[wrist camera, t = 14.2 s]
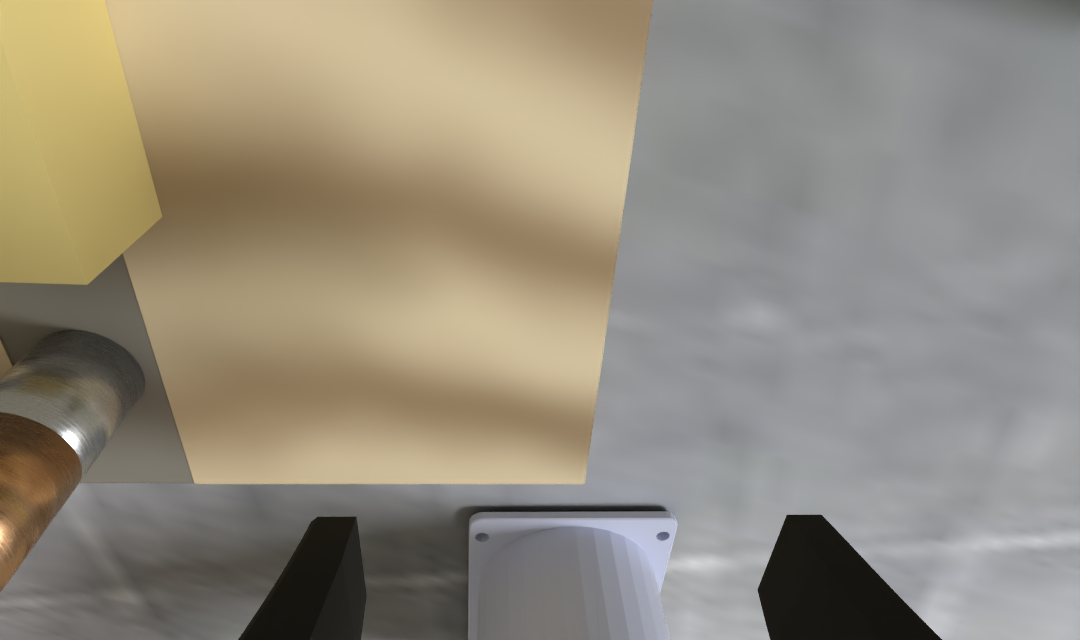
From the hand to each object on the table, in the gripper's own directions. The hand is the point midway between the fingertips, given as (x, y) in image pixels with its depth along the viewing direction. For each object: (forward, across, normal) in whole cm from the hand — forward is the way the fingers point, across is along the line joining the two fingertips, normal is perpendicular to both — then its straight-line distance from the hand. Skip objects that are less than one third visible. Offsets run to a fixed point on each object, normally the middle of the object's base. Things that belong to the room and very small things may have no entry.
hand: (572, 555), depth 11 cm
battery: (+9, +13, +3) cm, 16 cm away
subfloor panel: (+10, +8, -2) cm, 13 cm away
